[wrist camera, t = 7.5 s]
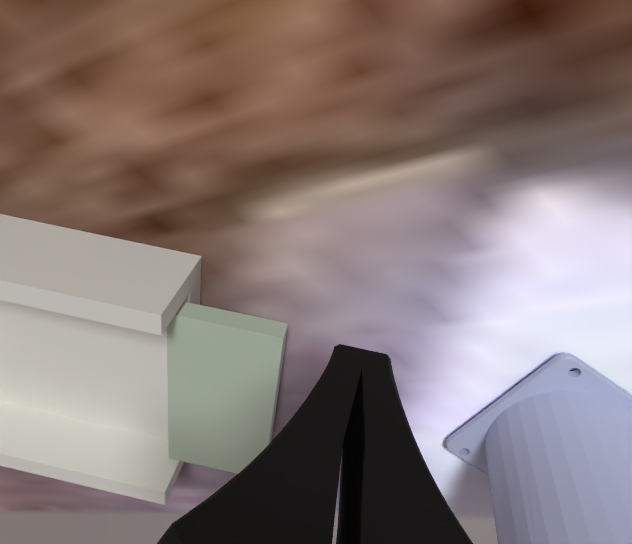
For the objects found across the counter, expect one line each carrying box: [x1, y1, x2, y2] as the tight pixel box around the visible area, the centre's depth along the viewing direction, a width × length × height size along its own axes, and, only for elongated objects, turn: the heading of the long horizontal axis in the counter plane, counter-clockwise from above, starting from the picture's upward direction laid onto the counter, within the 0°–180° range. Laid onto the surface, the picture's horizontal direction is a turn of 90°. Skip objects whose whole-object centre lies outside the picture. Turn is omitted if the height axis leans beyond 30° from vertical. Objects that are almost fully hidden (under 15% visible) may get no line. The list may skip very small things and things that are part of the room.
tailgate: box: [167, 302, 288, 474], centre depth 25 cm, size 2×9×5 cm
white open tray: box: [0, 214, 202, 505], centre depth 25 cm, size 12×12×4 cm
